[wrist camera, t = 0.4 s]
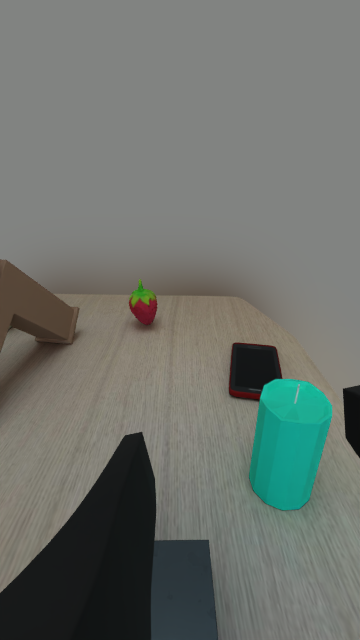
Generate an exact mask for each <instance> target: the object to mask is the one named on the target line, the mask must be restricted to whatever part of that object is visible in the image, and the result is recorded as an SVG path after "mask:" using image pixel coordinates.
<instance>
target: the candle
mask: <svg viewBox="0 0 360 640" xmlns="http://www.w3.org/2000/svg"><path fill="white" fill-rule="evenodd" d="M331 418H332V405H331V403H330V402H329V400H328V399H327V398H326V396H325V395H324V393H323V392H322V391H320V390H319V389H317V388H316V387H315V386H313V385H312V384H311V383H309V382H306V381H300V380H294V379H275V380H273V381H271V382H269V383H268V384H266V385H264V387H263V391H262V394H261V397H260V402H259V409H258V416H257V423H256V430H255V437H254V444H253V451H252V458H251V465H250V472H249V479H250V482H251V485H252V488H253V491H254V492H255V493H256V494H257V495H258V496H259V497H260V498H261V499H262V500H263V501H264V502H265V503H266V504H268V505H271V506H273V507H275V508H278V509H280V510H296V509H300V508H301V507H302V506H303V505H304V504H305V503H306V502H308V501H309V498H310V495H311V491H312V487H313V484H314V480H315V477H316V473H317V469H318V466H319V462H320V458H321V455H322V451H323V448H324V444H325V440H326V437H327V433H328V429H329V426H330V422H331Z"/></svg>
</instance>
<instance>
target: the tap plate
mask: <svg viewBox="0 0 360 640" xmlns="http://www.w3.org/2000/svg"><path fill="white" fill-rule="evenodd" d="M151 640H218V633H217V622H216V612H215V601H214V591H213V580H212V570H211V559H210V549H209V540H163V541H154V554H153V569H152V584H151Z"/></svg>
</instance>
